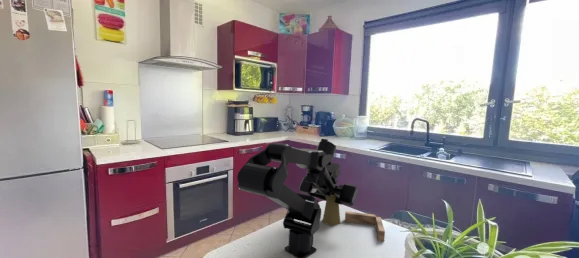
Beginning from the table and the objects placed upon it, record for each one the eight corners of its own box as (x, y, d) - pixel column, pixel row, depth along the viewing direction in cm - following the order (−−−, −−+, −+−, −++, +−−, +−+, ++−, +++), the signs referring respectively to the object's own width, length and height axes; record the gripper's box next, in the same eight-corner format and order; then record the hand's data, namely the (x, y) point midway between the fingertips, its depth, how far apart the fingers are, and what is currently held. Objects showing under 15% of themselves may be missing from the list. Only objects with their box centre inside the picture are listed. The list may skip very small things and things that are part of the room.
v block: (381, 242, 78) (382, 232, 77) (342, 220, 91) (343, 211, 91) (398, 235, 82) (399, 226, 82) (359, 215, 96) (359, 207, 95)
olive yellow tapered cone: (341, 225, 87) (343, 193, 86) (323, 225, 87) (325, 193, 86) (338, 217, 93) (340, 187, 92) (321, 217, 93) (323, 187, 92)
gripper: (357, 160, 79) (367, 187, 90) (304, 152, 90) (318, 176, 100) (346, 193, 74) (357, 217, 84) (291, 180, 84) (307, 202, 94)
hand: (334, 201), depth 91 cm, fingers closed on olive yellow tapered cone, 5 cm apart
